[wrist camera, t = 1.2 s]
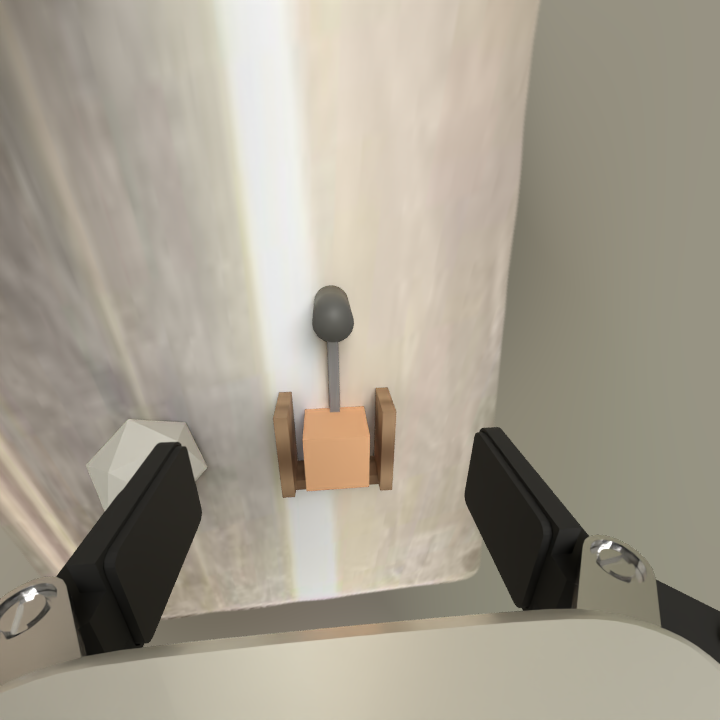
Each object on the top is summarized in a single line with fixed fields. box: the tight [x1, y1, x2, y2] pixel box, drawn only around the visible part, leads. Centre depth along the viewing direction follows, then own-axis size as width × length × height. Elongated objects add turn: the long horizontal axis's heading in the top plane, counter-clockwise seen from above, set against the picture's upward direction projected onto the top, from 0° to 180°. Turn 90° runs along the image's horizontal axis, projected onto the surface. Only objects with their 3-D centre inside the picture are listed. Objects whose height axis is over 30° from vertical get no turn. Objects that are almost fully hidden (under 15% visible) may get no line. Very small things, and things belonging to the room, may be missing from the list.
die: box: [86, 419, 208, 511], centre depth 31 cm, size 8×9×10 cm
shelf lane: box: [273, 388, 396, 498], centre depth 34 cm, size 10×11×4 cm
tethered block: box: [303, 286, 370, 491], centre depth 30 cm, size 18×6×6 cm, turn 0°
